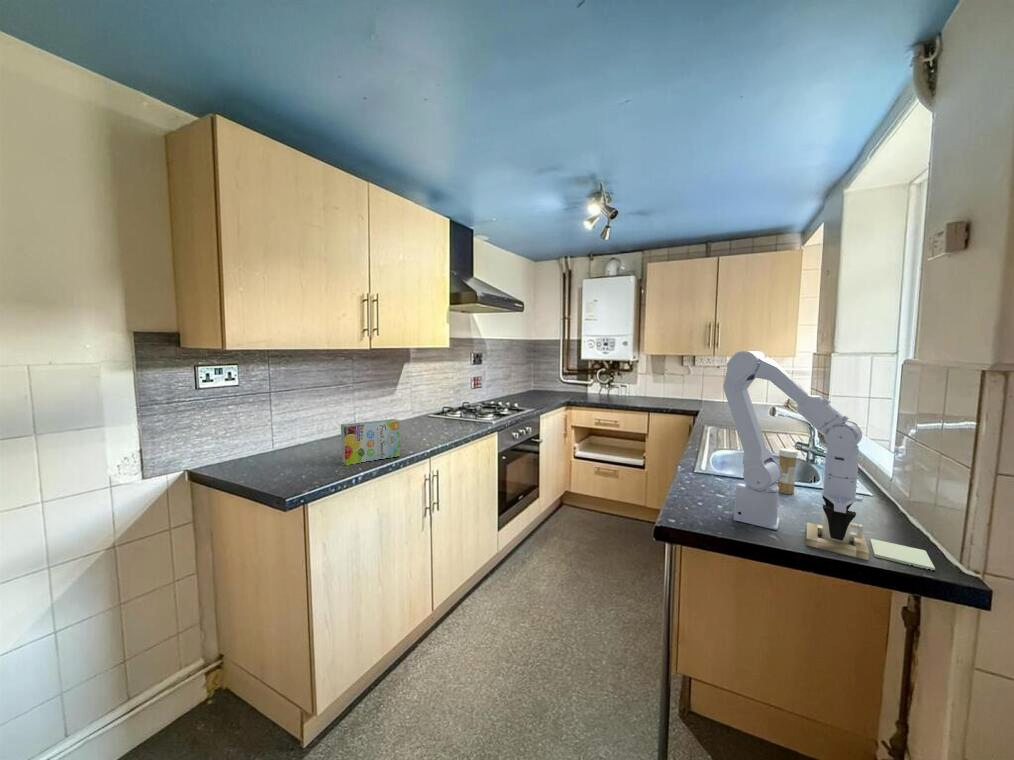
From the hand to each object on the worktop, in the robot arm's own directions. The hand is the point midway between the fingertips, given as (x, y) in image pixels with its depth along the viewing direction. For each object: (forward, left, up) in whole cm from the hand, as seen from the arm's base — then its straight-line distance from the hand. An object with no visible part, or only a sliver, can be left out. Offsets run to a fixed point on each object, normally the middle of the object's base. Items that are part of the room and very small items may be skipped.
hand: (835, 533), depth 92 cm
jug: (0, 0, -2) cm, 2 cm away
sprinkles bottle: (-11, +33, -3) cm, 35 cm away
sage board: (+11, +2, -2) cm, 11 cm away
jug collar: (0, 0, -2) cm, 2 cm away
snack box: (-141, -26, -3) cm, 143 cm away
